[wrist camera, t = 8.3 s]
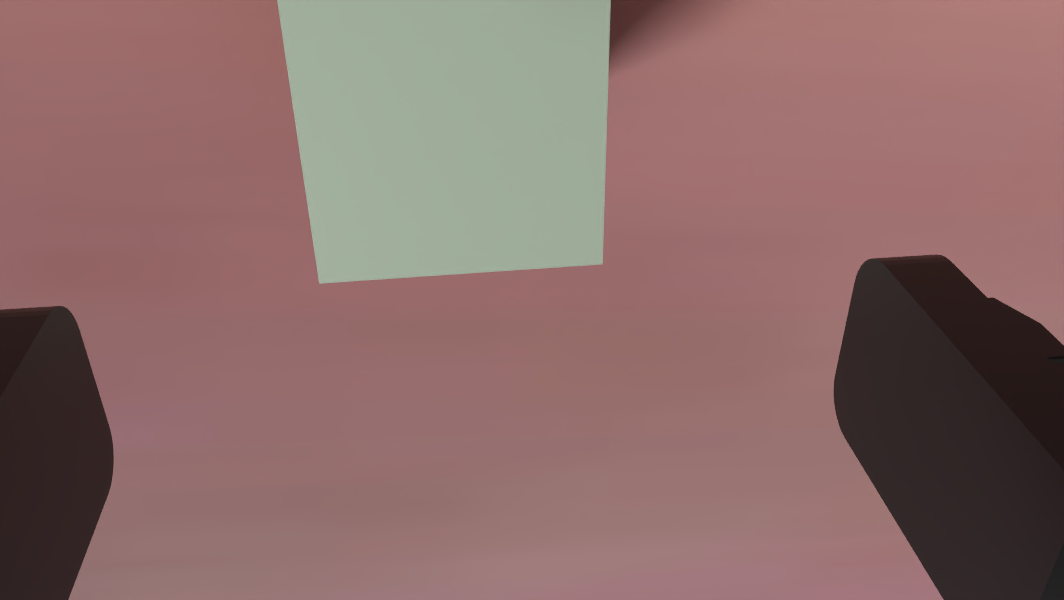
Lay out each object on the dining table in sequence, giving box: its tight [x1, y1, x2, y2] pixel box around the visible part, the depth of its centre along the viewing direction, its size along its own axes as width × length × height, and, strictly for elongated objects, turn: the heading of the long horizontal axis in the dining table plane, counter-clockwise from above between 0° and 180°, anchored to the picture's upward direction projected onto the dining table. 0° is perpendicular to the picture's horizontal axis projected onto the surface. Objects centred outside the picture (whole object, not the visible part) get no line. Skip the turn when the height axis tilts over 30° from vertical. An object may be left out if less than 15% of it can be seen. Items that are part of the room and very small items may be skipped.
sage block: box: [277, 0, 611, 283], centre depth 17 cm, size 5×5×5 cm
